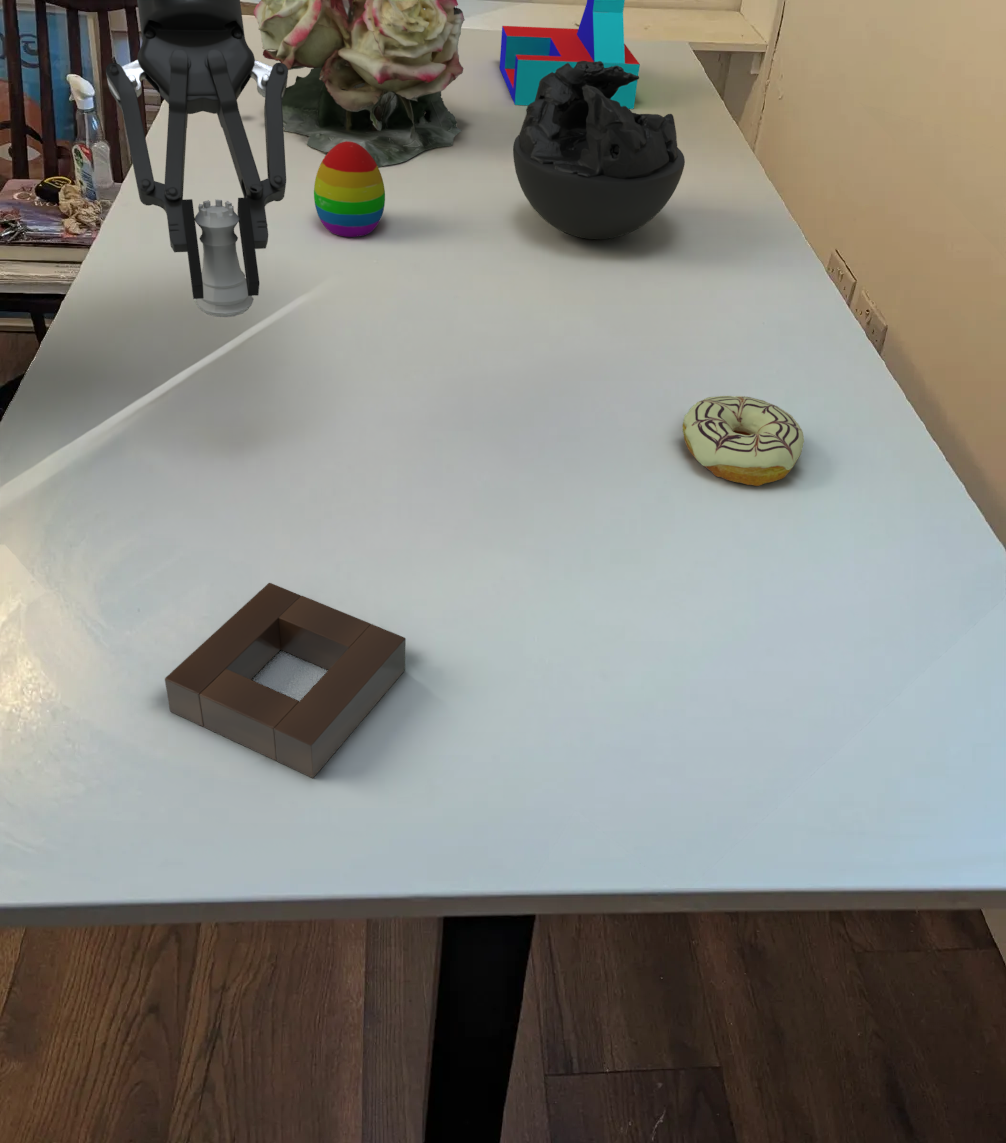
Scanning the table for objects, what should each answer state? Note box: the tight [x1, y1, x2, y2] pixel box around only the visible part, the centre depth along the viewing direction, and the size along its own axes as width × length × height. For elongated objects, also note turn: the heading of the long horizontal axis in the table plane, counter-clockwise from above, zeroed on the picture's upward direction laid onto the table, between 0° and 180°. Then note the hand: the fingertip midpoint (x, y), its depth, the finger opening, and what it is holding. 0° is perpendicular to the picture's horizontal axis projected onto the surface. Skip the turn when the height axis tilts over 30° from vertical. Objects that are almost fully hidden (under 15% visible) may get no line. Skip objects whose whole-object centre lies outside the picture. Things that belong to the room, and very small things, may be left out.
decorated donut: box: [681, 395, 805, 487], centre depth 99 cm, size 10×11×4 cm
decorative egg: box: [313, 141, 386, 238], centre depth 130 cm, size 8×8×10 cm
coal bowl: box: [512, 61, 686, 240], centre depth 131 cm, size 20×20×19 cm
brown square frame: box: [164, 582, 407, 779], centre depth 73 cm, size 11×11×3 cm
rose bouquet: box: [253, 0, 466, 168], centre depth 149 cm, size 26×29×30 cm
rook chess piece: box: [194, 199, 254, 318], centre depth 85 cm, size 4×4×8 cm
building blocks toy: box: [499, 0, 641, 110], centre depth 178 cm, size 19×25×18 cm
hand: (226, 290), depth 83 cm, fingers closed on rook chess piece, 3 cm apart
